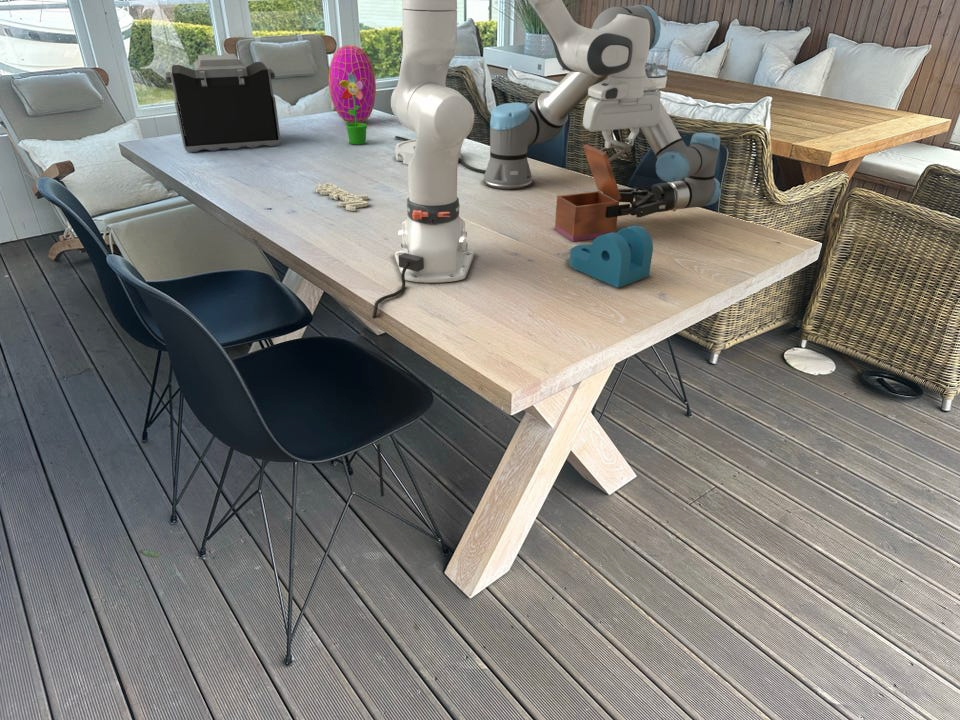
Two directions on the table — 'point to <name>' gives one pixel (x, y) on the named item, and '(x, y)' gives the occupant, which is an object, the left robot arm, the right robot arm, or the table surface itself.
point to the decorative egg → (361, 68)
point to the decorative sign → (343, 196)
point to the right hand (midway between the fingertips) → (596, 206)
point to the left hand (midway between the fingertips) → (618, 146)
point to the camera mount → (615, 256)
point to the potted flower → (354, 129)
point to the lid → (605, 167)
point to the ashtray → (407, 151)
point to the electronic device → (225, 104)
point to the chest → (584, 215)
